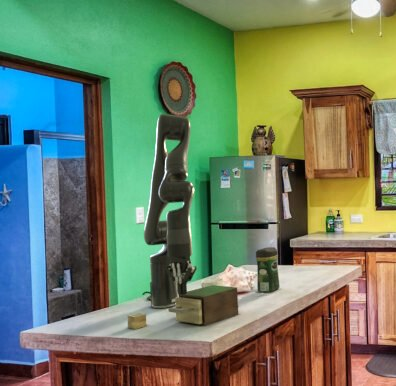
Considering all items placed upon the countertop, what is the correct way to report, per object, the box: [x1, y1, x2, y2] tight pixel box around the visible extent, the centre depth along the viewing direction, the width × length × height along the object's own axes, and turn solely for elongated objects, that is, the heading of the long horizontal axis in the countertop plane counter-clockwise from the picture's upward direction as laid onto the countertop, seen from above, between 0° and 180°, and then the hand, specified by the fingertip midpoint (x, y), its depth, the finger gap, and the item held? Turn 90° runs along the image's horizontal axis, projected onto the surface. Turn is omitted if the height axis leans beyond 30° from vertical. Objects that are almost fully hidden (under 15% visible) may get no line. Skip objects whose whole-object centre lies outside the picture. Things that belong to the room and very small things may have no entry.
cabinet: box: [178, 285, 239, 327], centre depth 168 cm, size 15×13×10 cm
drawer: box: [167, 296, 203, 325], centre depth 164 cm, size 18×11×8 cm, turn 151°
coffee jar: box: [255, 246, 281, 294], centre depth 209 cm, size 10×8×19 cm
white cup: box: [200, 277, 224, 288], centre depth 185 cm, size 8×8×10 cm
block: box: [126, 312, 147, 330], centre depth 161 cm, size 4×4×4 cm
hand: (182, 294), depth 159 cm, fingers closed
